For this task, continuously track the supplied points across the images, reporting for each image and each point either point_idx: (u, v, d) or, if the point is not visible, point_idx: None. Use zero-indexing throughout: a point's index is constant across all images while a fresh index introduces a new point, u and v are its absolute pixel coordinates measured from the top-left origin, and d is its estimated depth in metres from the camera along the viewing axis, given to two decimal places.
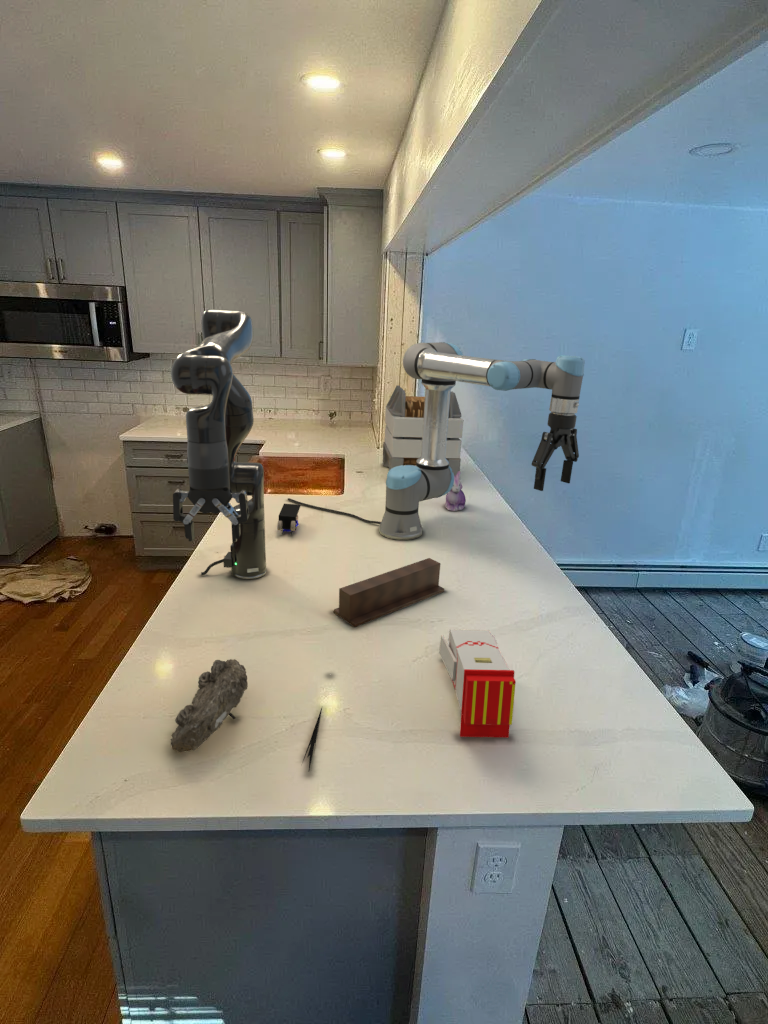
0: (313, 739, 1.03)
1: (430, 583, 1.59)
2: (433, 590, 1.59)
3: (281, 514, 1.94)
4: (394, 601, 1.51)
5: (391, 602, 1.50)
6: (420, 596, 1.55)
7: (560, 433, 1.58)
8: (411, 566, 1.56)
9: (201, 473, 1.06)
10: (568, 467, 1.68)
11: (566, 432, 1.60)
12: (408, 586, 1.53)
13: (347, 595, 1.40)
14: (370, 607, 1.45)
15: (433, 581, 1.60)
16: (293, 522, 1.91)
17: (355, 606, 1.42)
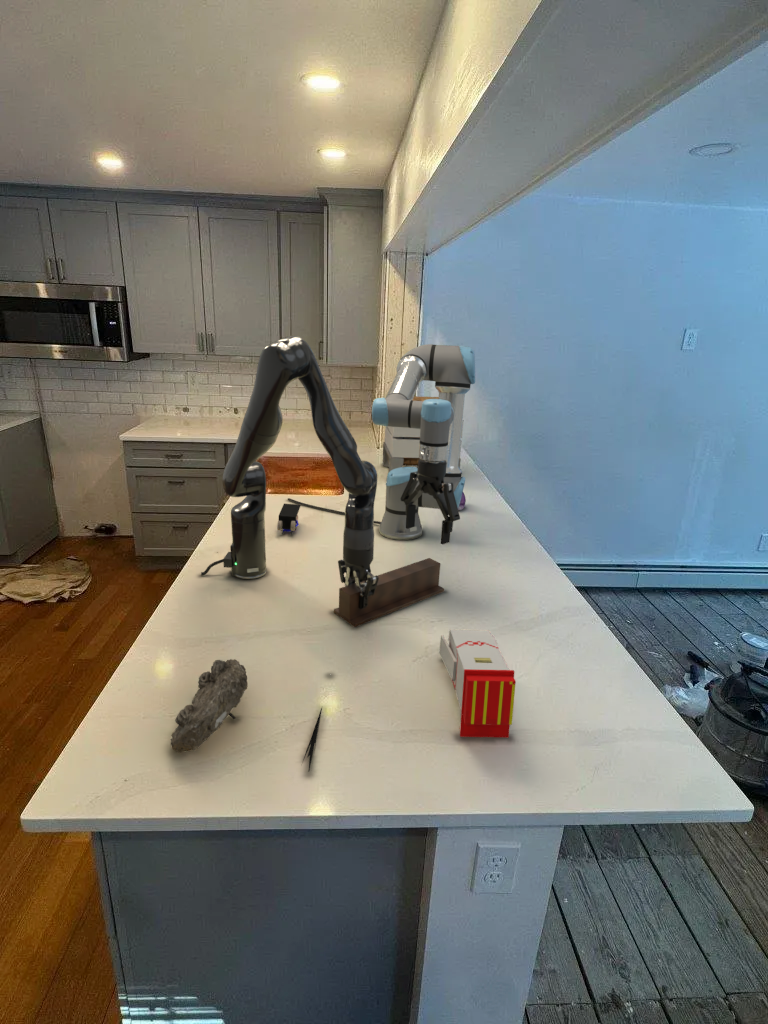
0: (313, 739, 1.03)
1: (430, 583, 1.59)
2: (433, 590, 1.59)
3: (281, 514, 1.94)
4: (394, 601, 1.51)
5: (391, 602, 1.50)
6: (420, 596, 1.55)
7: (424, 478, 1.50)
8: (411, 566, 1.56)
9: None
10: None
11: (432, 481, 1.48)
12: (408, 586, 1.53)
13: (347, 595, 1.40)
14: (370, 607, 1.45)
15: (433, 581, 1.60)
16: (293, 522, 1.91)
17: (355, 606, 1.42)
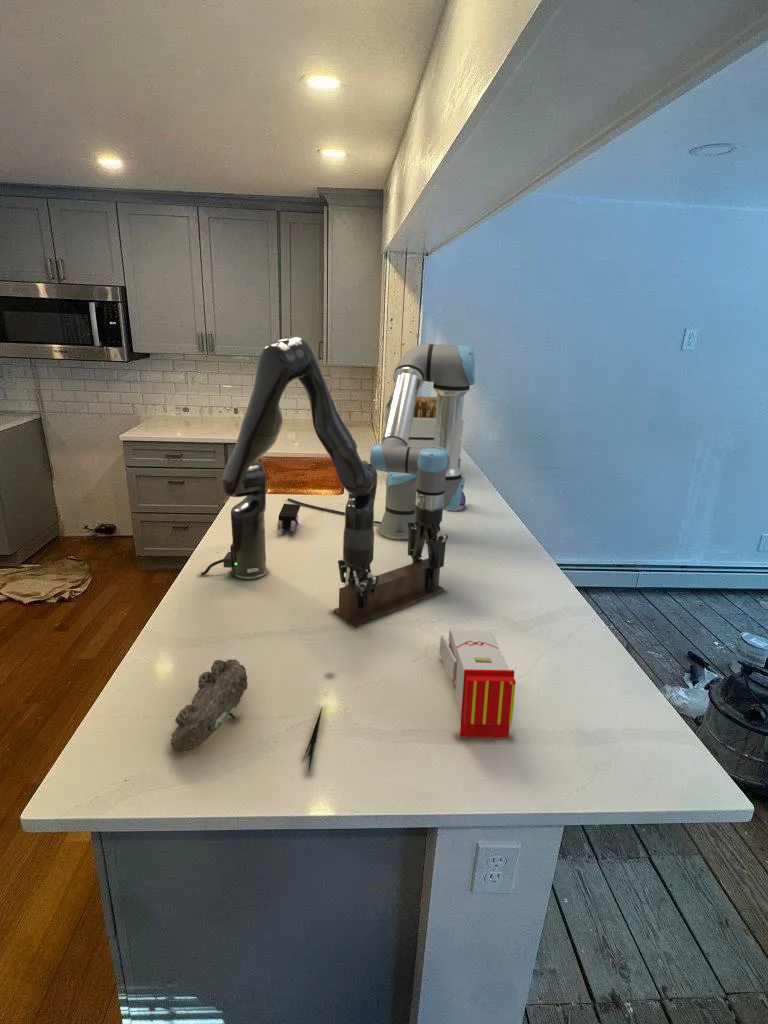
0: (313, 739, 1.03)
1: None
2: (433, 590, 1.59)
3: (281, 514, 1.94)
4: (394, 601, 1.51)
5: (391, 602, 1.50)
6: (420, 596, 1.55)
7: (420, 524, 1.55)
8: (411, 566, 1.56)
9: None
10: None
11: (429, 525, 1.52)
12: (408, 586, 1.53)
13: (347, 595, 1.40)
14: (370, 607, 1.45)
15: None
16: (293, 522, 1.91)
17: (355, 606, 1.42)
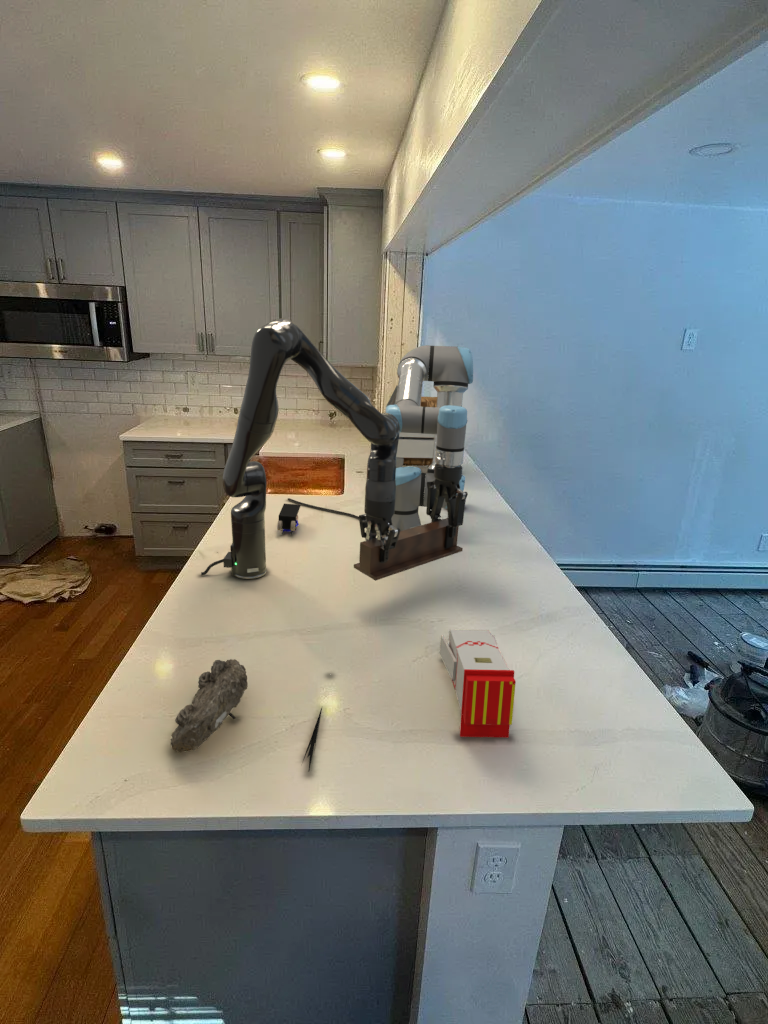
0: (313, 739, 1.03)
1: None
2: (452, 549, 1.59)
3: (281, 514, 1.94)
4: (413, 558, 1.51)
5: (411, 559, 1.51)
6: (439, 554, 1.55)
7: (440, 482, 1.55)
8: (430, 525, 1.57)
9: None
10: None
11: (449, 483, 1.53)
12: (427, 544, 1.53)
13: (368, 548, 1.41)
14: (390, 562, 1.46)
15: None
16: (293, 522, 1.91)
17: (376, 560, 1.42)
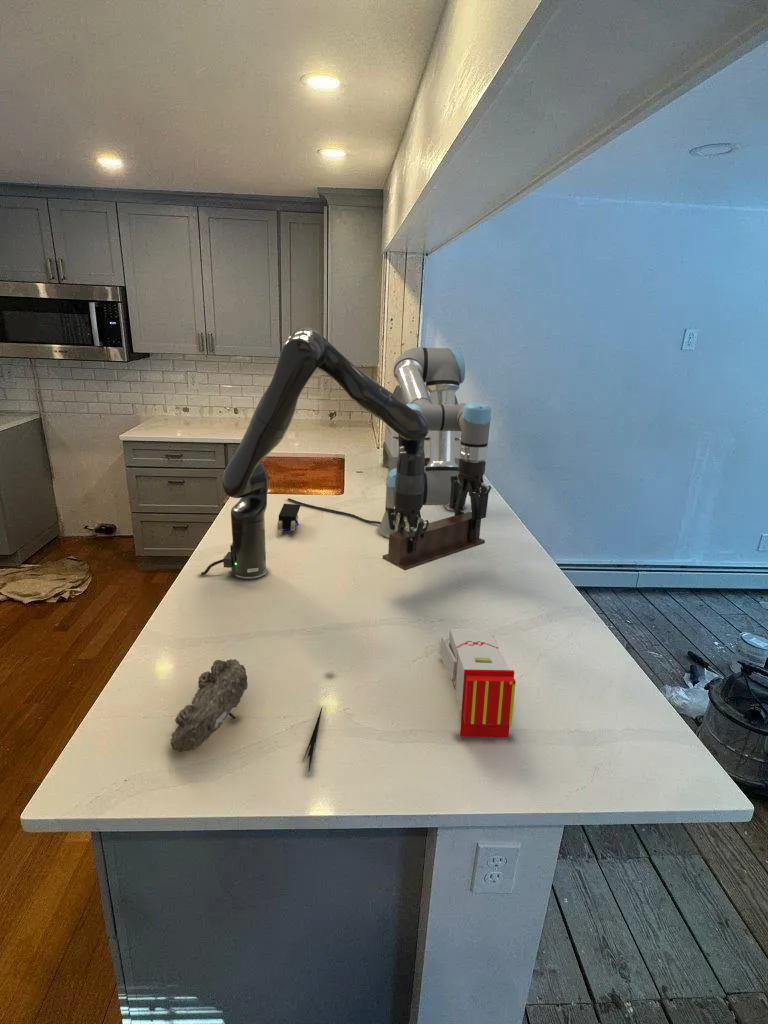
0: (313, 739, 1.03)
1: None
2: (475, 541, 1.65)
3: (281, 514, 1.94)
4: (439, 549, 1.57)
5: (436, 550, 1.57)
6: (463, 546, 1.61)
7: (464, 477, 1.61)
8: (454, 518, 1.63)
9: None
10: None
11: (473, 477, 1.59)
12: (452, 536, 1.59)
13: (397, 539, 1.47)
14: (418, 553, 1.52)
15: None
16: (293, 522, 1.91)
17: (405, 551, 1.48)
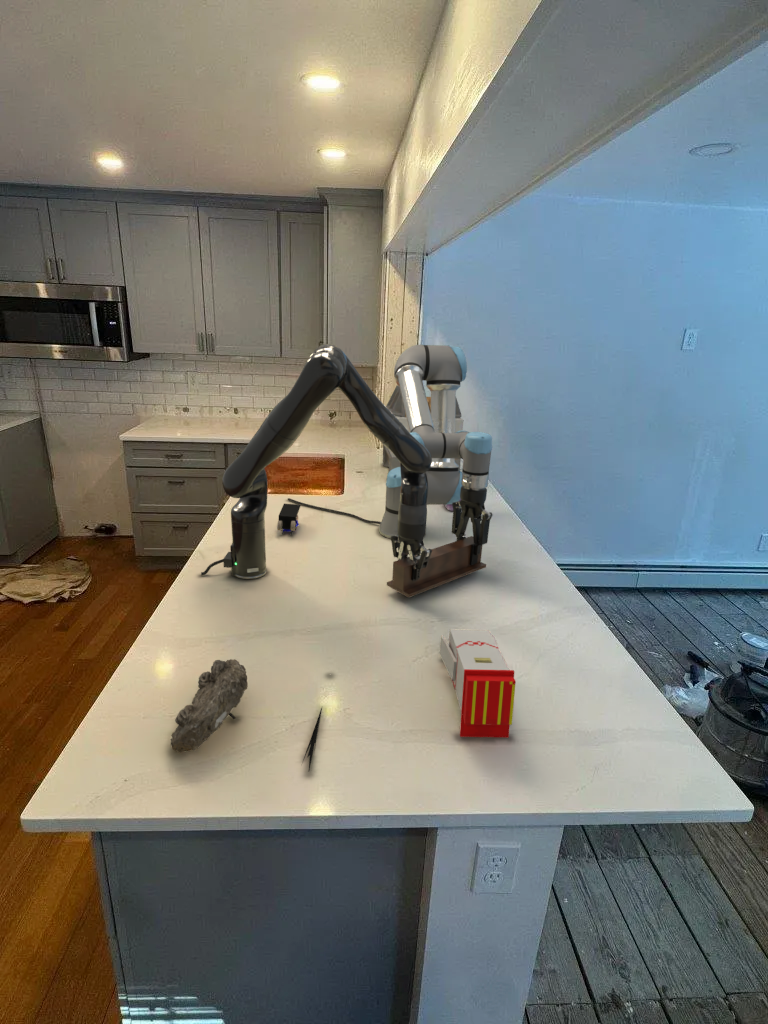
0: (313, 739, 1.03)
1: None
2: (477, 565, 1.69)
3: (281, 514, 1.94)
4: (442, 575, 1.61)
5: (439, 576, 1.61)
6: (465, 571, 1.65)
7: (465, 503, 1.65)
8: (456, 543, 1.67)
9: None
10: None
11: (474, 504, 1.63)
12: (454, 561, 1.63)
13: (401, 567, 1.50)
14: (421, 579, 1.56)
15: None
16: (293, 522, 1.91)
17: (408, 578, 1.52)
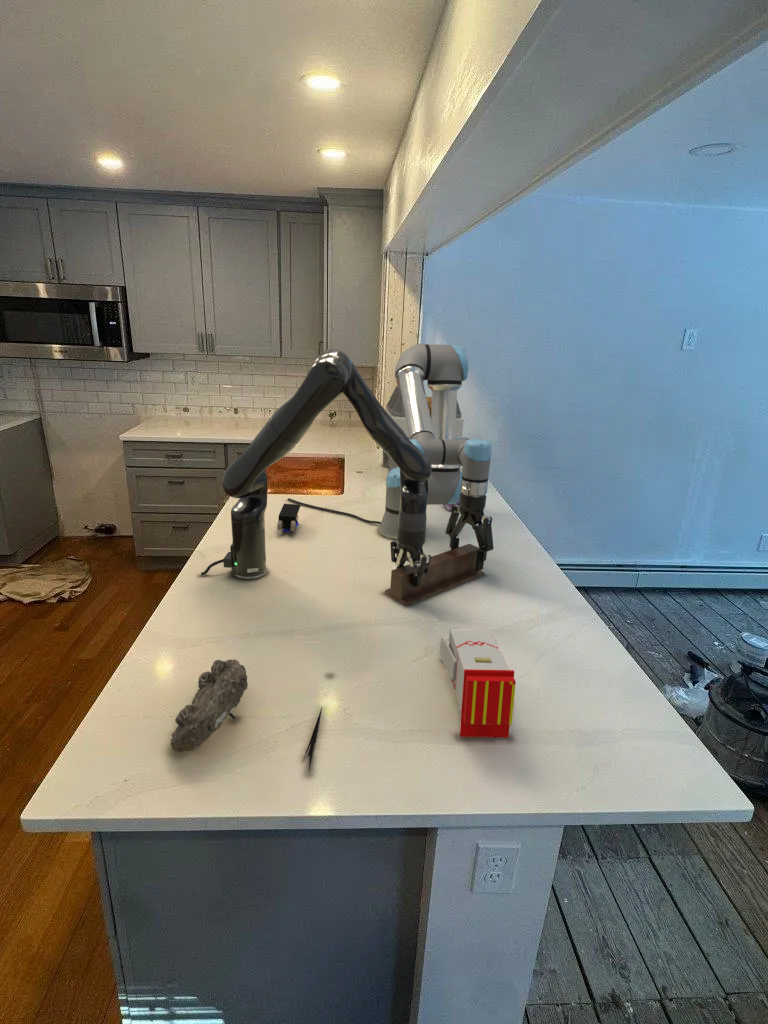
0: (313, 739, 1.03)
1: (471, 566, 1.70)
2: (474, 573, 1.70)
3: (281, 514, 1.94)
4: (440, 583, 1.62)
5: (437, 584, 1.61)
6: (463, 579, 1.66)
7: (465, 510, 1.66)
8: (453, 551, 1.67)
9: None
10: None
11: (473, 512, 1.64)
12: (452, 569, 1.64)
13: (399, 576, 1.51)
14: (419, 587, 1.57)
15: (474, 565, 1.71)
16: (293, 522, 1.91)
17: (406, 587, 1.53)
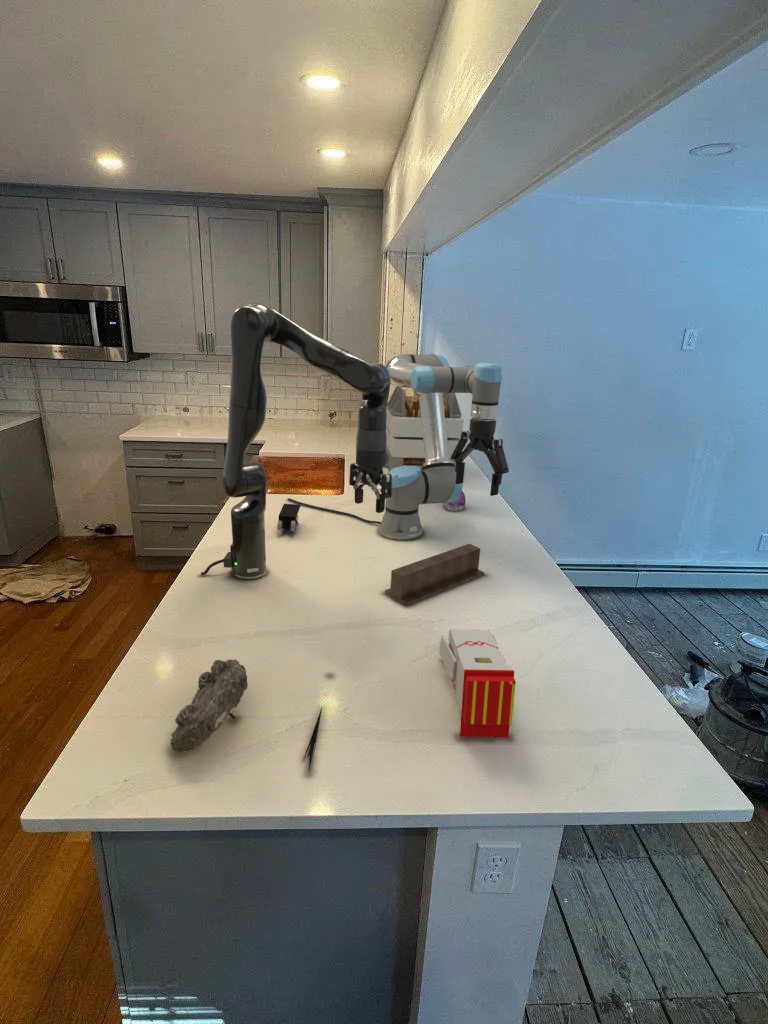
0: (313, 739, 1.03)
1: (471, 566, 1.70)
2: (474, 573, 1.70)
3: (281, 514, 1.94)
4: (440, 583, 1.62)
5: (437, 584, 1.61)
6: (463, 579, 1.66)
7: (475, 436, 1.65)
8: (453, 551, 1.67)
9: None
10: None
11: (483, 438, 1.63)
12: (452, 569, 1.64)
13: (399, 576, 1.51)
14: (419, 587, 1.57)
15: (474, 565, 1.71)
16: (293, 522, 1.91)
17: (406, 587, 1.53)
